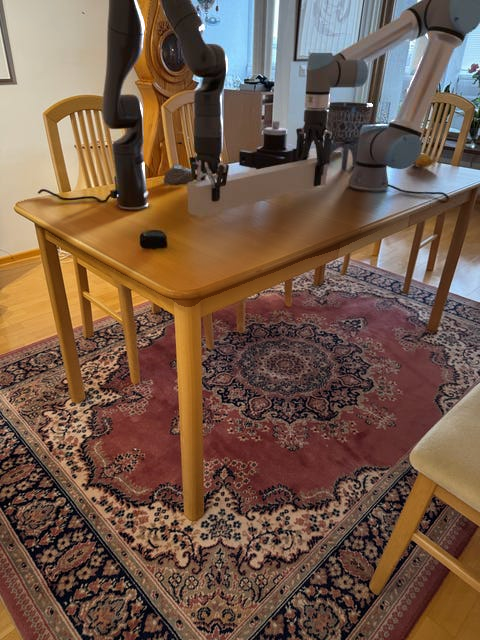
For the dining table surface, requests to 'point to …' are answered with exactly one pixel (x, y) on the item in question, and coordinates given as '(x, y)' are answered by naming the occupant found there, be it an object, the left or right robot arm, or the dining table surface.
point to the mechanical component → (270, 150)
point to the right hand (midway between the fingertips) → (310, 183)
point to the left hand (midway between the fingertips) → (208, 198)
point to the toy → (424, 161)
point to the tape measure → (153, 239)
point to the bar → (253, 186)
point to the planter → (347, 127)
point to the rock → (178, 175)
